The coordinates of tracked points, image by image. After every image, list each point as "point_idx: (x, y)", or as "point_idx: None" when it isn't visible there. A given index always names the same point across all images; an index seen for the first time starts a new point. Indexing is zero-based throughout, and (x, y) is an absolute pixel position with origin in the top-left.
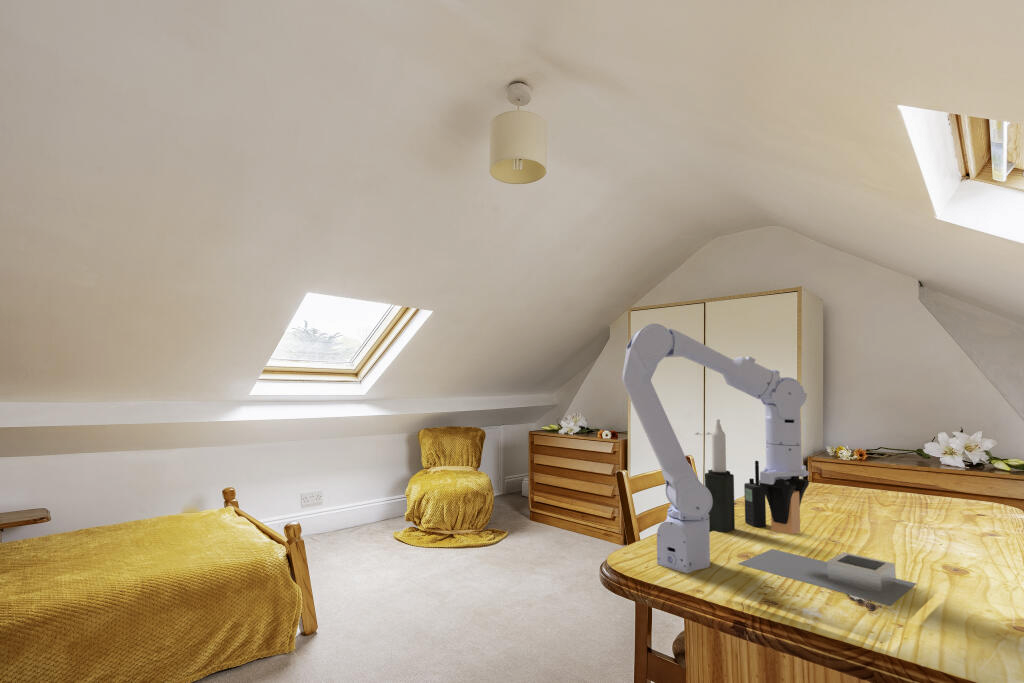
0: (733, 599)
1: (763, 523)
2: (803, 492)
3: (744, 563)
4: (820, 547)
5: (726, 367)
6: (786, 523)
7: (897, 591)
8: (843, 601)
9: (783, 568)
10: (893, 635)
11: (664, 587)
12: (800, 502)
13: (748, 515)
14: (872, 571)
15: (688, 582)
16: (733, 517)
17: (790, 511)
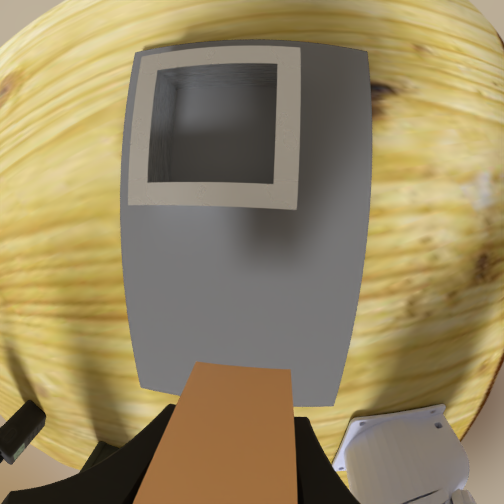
0: (495, 316)
1: (30, 406)
2: (73, 488)
3: (318, 399)
4: (29, 306)
5: None
6: (295, 417)
7: None
8: (388, 145)
9: (286, 329)
10: (464, 63)
11: (484, 396)
12: (119, 455)
13: (37, 430)
14: (298, 67)
15: (457, 396)
16: (92, 463)
17: (295, 455)
